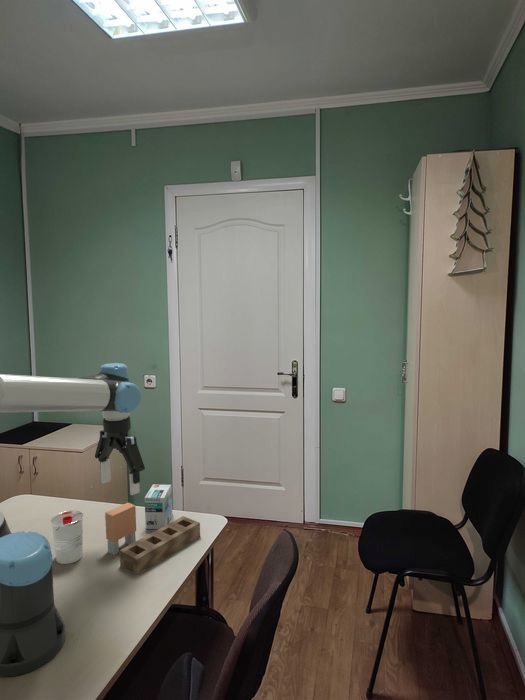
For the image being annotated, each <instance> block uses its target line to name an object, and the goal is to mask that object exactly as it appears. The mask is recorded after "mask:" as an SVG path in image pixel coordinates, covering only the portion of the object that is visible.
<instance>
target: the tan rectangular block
mask: <svg viewBox="0 0 525 700" xmlns="http://www.w3.org/2000/svg"><path fill="white" fill-rule="evenodd" d="M136 512H137V510H136V505H135V504H133V503H131V502H126V503H124V504H121V505H119V506H117V507H115V508H111V509H110V510H108V511H105V512H104V513H105V514H104V515H105V516H104V517H105V536H106V537H105V538H106V540H107V551H108V553H110V554H112V555H114V556H115V555H118V553H119V554H120V545H119V540H121V539H123V538H124V544H125V543H126V544H128V545H130V544H132V543H134V542H136V541H137V540H136V532H137V513H136Z"/></svg>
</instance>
